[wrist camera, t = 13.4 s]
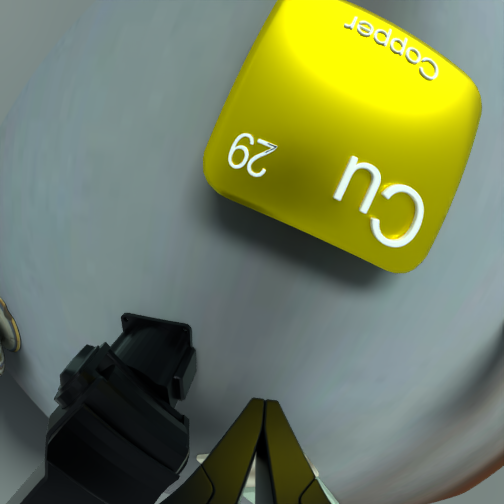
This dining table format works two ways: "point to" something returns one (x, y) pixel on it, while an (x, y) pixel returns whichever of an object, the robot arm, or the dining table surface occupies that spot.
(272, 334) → the dining table surface
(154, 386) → the robot arm
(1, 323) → the apothecary jar
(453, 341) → the dining table surface
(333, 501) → the panel
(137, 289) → the dining table surface
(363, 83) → the element tile
